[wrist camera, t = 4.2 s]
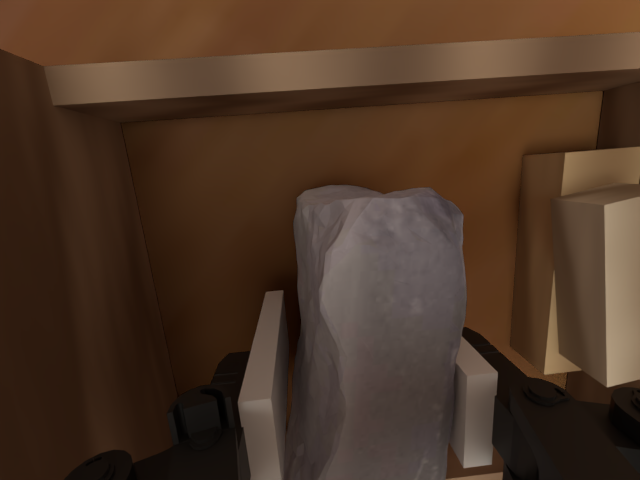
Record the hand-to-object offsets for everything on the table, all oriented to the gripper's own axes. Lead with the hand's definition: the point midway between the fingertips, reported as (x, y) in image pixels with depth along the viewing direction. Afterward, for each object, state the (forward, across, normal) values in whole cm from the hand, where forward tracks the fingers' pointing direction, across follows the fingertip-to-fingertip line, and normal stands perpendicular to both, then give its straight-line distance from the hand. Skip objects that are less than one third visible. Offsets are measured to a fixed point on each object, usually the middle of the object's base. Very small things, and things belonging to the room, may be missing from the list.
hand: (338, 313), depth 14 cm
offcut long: (+4, +12, +1) cm, 13 cm away
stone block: (+3, +1, 0) cm, 3 cm away
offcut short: (0, +12, +1) cm, 12 cm away
